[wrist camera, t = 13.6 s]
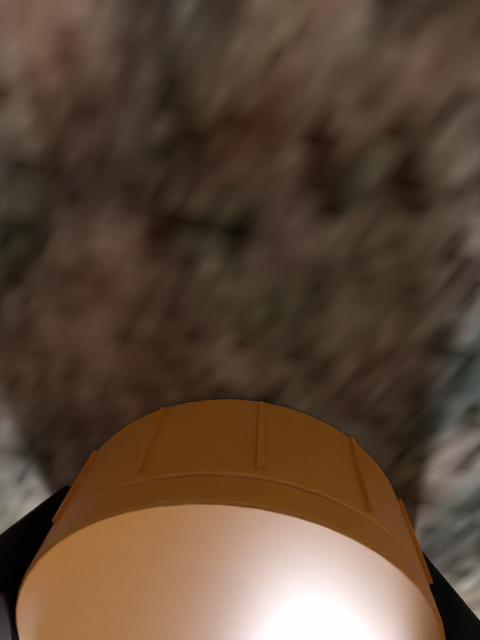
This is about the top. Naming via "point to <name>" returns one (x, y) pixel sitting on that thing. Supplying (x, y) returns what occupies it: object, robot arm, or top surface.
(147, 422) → the cap
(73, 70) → the top surface
